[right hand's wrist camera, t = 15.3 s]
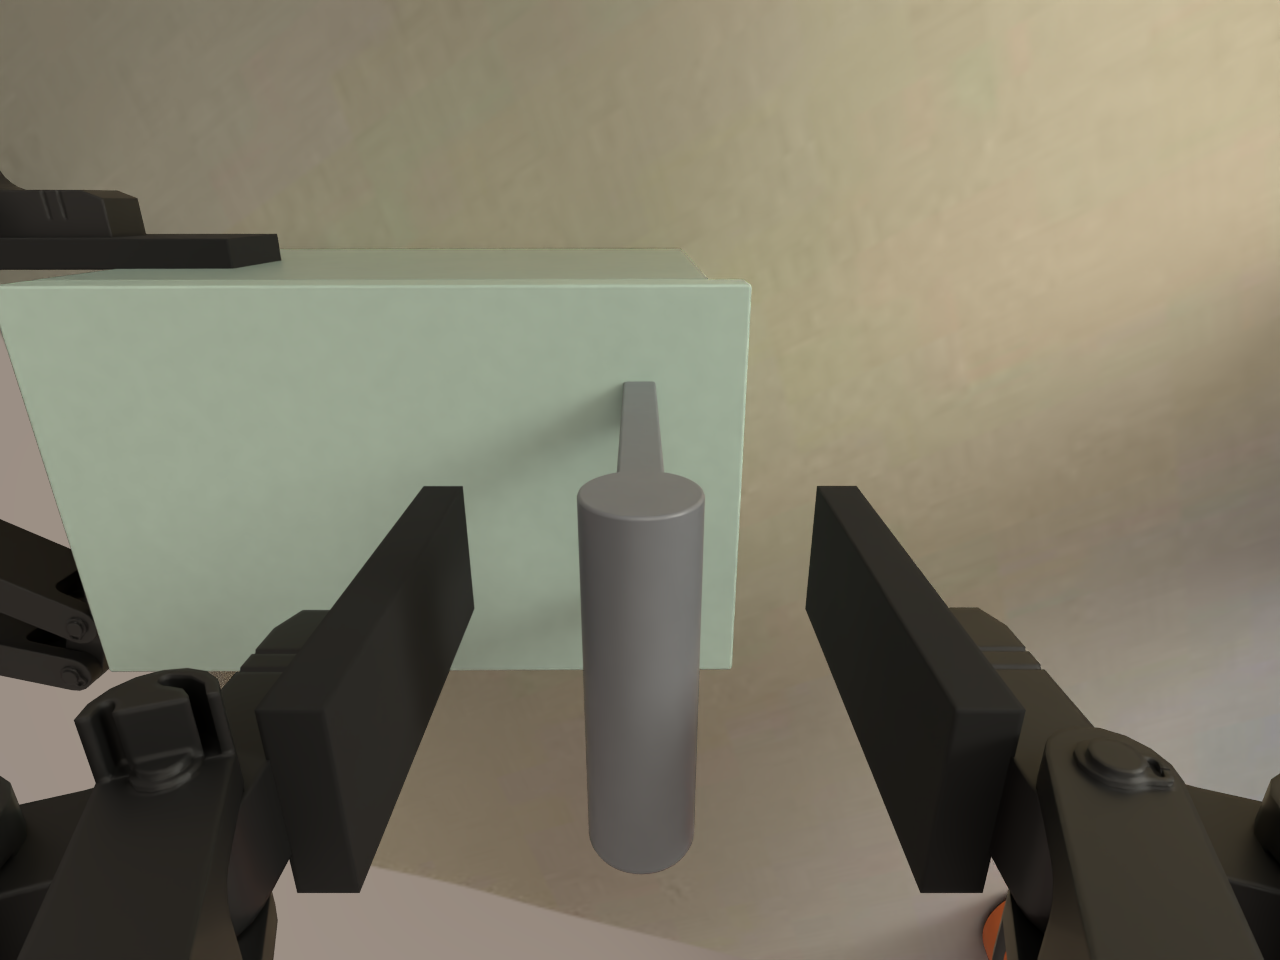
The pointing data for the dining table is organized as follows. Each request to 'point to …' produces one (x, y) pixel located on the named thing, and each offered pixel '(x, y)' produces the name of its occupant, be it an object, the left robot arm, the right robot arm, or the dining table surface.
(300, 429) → the lid
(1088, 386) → the dining table surface
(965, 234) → the dining table surface
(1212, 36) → the dining table surface
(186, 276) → the chest
